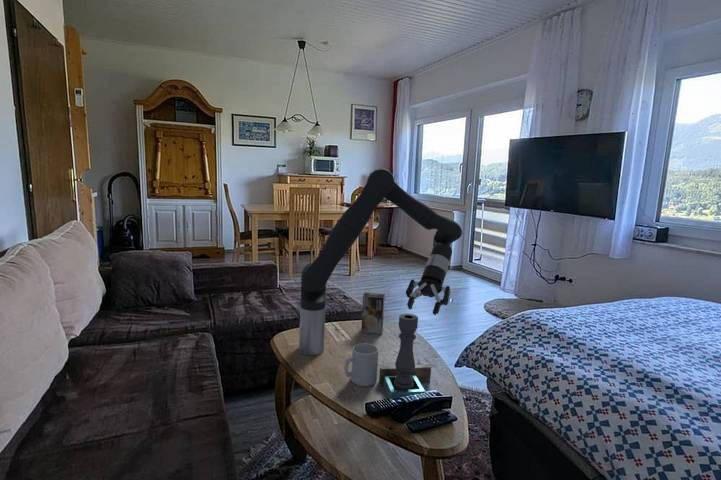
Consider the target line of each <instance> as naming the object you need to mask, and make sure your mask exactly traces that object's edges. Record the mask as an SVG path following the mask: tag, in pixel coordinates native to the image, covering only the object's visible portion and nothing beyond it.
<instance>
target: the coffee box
mask: <svg viewBox="0 0 721 480" xmlns="http://www.w3.org/2000/svg"><path fill="white" fill-rule="evenodd" d="M385 299H386V297H385V294H384V293H377V292H375V293H374V292H364V293H363V296H362V309H361V328H360V329H361V330H360V332H361V333H366V334H376V335H383V331H384V317H385V313H384V312H385Z"/></svg>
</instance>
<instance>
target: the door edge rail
mask: <svg viewBox="0 0 721 480" xmlns="http://www.w3.org/2000/svg"><path fill="white" fill-rule="evenodd" d="M432 369H433V368H432V366H431V365H430V364H429V363H428V364H423V365H417V364H415V369H414V371H413V372H412V374H415V375H416V377H417V378H418V380H419V382H420V383H430V382H431V375H432ZM397 374H398V372H397V369H396V366H395V365H394V364H393V365H379V374H378V375H379V377H378V378H379V379H378V383H379V385H383V381H384V375H397Z"/></svg>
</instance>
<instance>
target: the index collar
mask: <svg viewBox="0 0 721 480" xmlns="http://www.w3.org/2000/svg"><path fill="white" fill-rule="evenodd" d="M411 376H412V377H413V383H414V389H413V390H394V381H395V377H396V375H384V381H383V384H382V386H383V389H384V390H385V392H386V395H387V398H388V400H389V399H395V398H400V397H405V396H409V395H415V394H421V393H425V394H426V390H425V389H424V387H423V385H422V384H421V383H422V382H419V380H418V378H417V377H416V375H415V374H411Z"/></svg>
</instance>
